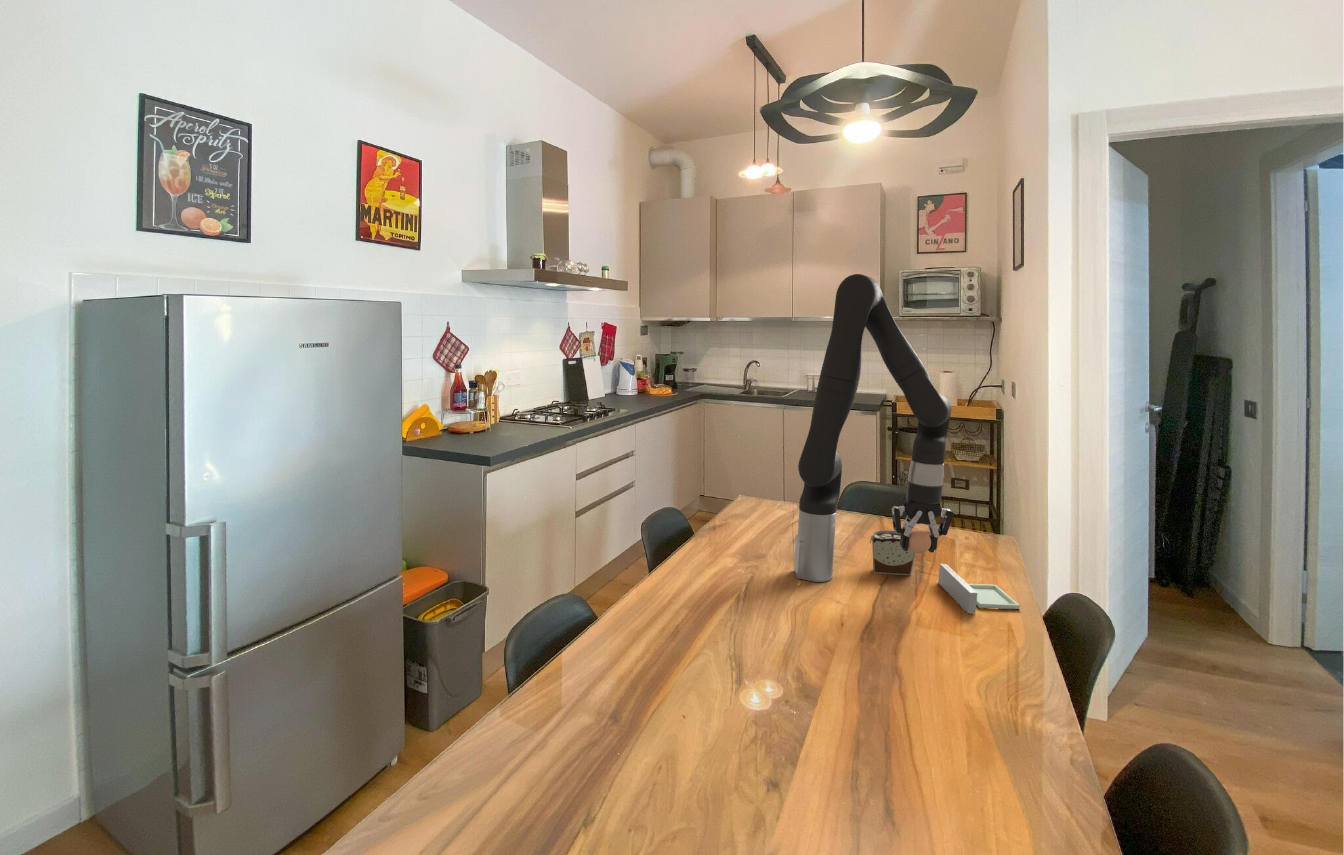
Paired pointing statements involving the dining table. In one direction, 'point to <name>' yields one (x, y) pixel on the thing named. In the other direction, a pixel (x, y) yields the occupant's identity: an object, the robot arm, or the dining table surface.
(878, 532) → the food container
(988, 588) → the sage tray
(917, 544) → the ball
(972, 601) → the low wall
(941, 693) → the dining table surface
